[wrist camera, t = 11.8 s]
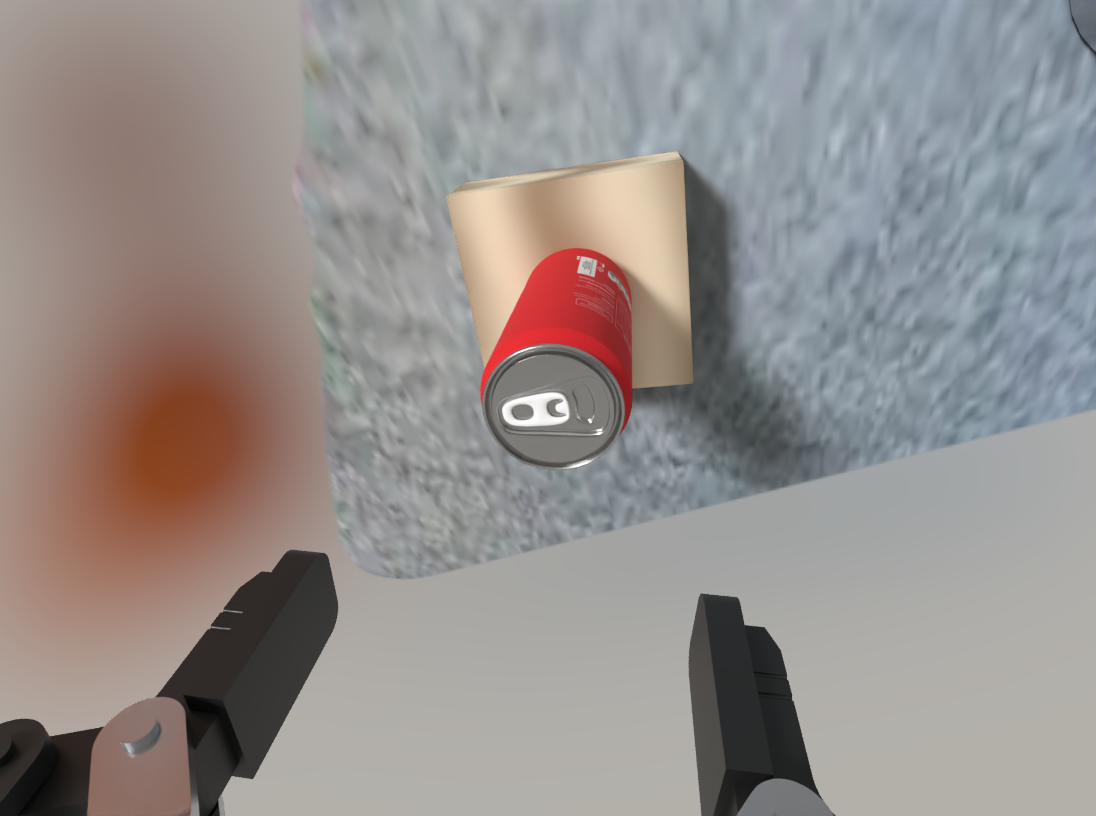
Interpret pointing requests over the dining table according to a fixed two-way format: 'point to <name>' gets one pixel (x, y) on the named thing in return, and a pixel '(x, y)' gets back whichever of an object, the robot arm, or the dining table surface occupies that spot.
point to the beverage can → (563, 364)
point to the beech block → (591, 223)
